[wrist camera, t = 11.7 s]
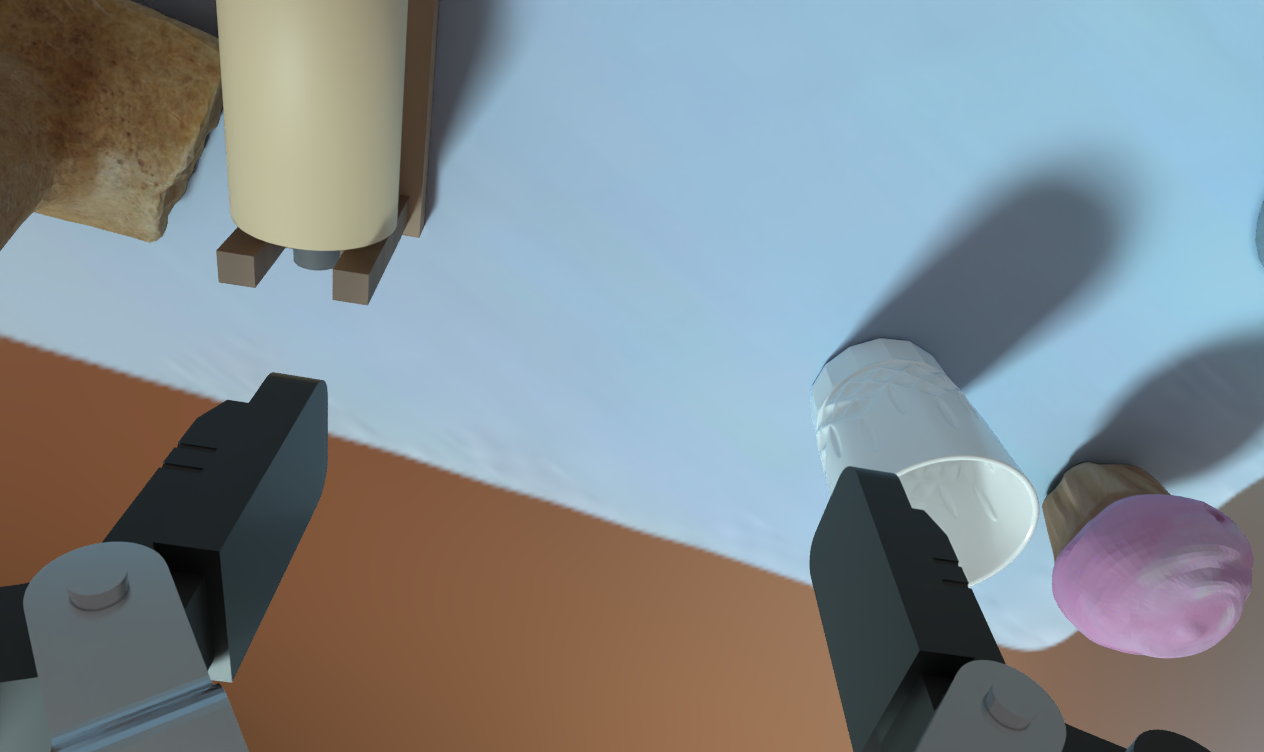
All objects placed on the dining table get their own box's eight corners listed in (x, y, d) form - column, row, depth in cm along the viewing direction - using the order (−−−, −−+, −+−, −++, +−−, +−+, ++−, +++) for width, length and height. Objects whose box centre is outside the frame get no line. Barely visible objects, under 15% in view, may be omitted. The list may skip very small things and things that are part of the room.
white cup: (798, 334, 40) (850, 466, 32) (961, 318, 40) (1056, 447, 32) (795, 459, 45) (840, 604, 36) (943, 446, 45) (1022, 588, 36)
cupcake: (1101, 557, 50) (1203, 705, 41) (975, 526, 48) (1055, 674, 39) (1201, 445, 45) (1338, 585, 37) (1066, 406, 43) (1177, 544, 35)
